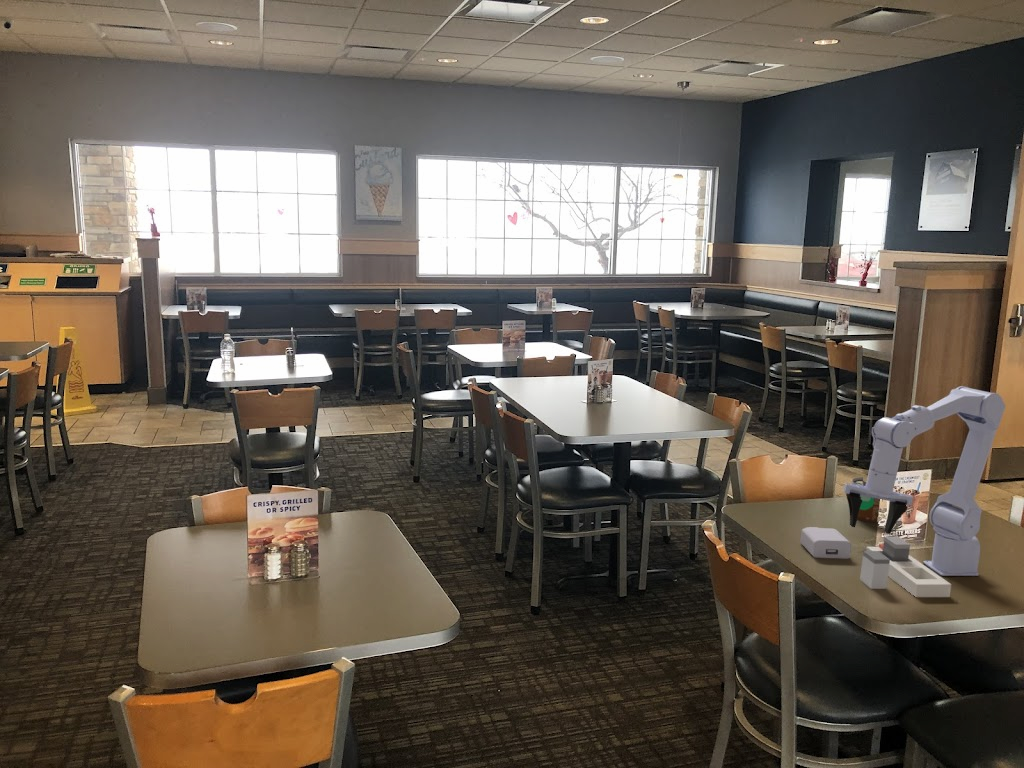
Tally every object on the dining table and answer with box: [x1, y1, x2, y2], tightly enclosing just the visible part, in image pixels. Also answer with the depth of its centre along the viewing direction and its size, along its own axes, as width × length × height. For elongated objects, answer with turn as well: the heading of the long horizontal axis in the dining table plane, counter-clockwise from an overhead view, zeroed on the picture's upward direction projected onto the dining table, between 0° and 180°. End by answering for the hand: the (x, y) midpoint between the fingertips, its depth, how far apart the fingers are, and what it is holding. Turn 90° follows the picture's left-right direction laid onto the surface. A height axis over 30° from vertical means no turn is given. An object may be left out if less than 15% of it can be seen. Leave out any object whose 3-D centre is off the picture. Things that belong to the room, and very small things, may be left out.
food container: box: [849, 476, 880, 524], centre depth 234 cm, size 12×6×10 cm, turn 6°
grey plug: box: [859, 550, 890, 590], centre depth 189 cm, size 4×5×7 cm
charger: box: [800, 526, 852, 560], centre depth 211 cm, size 5×9×15 cm
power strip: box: [865, 543, 952, 598], centre depth 194 cm, size 8×22×4 cm, turn 5°
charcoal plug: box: [882, 536, 911, 562], centre depth 198 cm, size 4×5×7 cm
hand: (869, 529), depth 187 cm, fingers open, 7 cm apart
